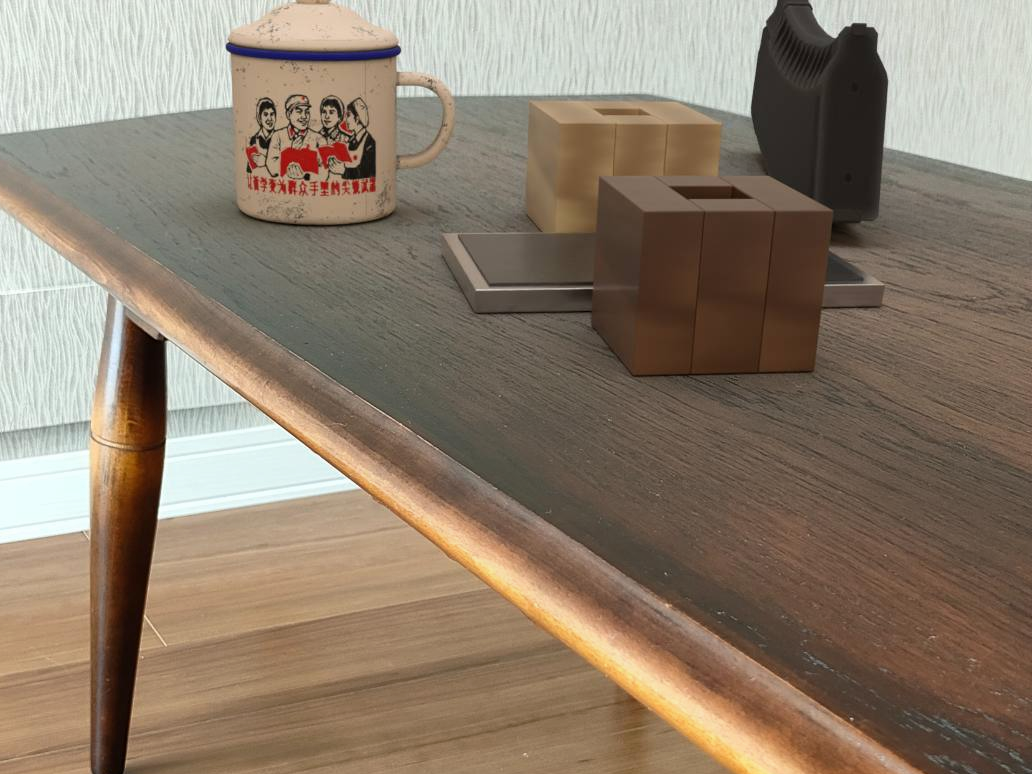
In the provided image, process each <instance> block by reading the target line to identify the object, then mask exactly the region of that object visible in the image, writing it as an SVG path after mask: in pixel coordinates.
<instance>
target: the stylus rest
mask: <svg viewBox="0 0 1032 774" xmlns="http://www.w3.org/2000/svg"><path fill="white" fill-rule="evenodd" d="M832 219H833V210H831V209H829V208H828V207H826V206H824V205H822V204H820V203H818V202H816V201H814V200H813V199H811V198H809V197H807V196H805V195H803V194H801V193H800V192H798V191H796V190H794V189H792V188H790V187H788V186H787V185H785V184H783V183H781V182H779V181H777V180H775V179H773V178H772V177H770V176H769V175H718V176H600V177H599V189H598V207H597V225H596V242H595V260H594V278H593V296H592V311H591V317H590V318H591V319H590V325H591V326H592V327H593V328H594V329H595V331H596V332H597V334H599V336H600V337H601V338H602V340H604V342H605V343H606V344H607V345H608V347H609V348H610V349H611V351H613V353H614V354H615V356H616V357H617V358H618V359H619V360H620V361H621V363H622V364H623V365H624V366H625V367H626V369H627V370H628V371H629V373H631V375H632V376H671V375H672V376H673V375H690V374H691V375H707V374H709V375H710V374H711V375H712V374H716V375H717V374H753V373H754V374H755V373H791V372H792V373H793V372H794V373H795V372H797V373H798V372H814V371H815V367H816V366H815V365H816V359H817V358H816V357H817V350H818V343H819V342H818V341H819V333H820V325H821V316H822V310H823V307H822V301H823V293H824V285H825V277H826V269H827V260H828V252H829V251H830V242H831V236H832V235H831V234H832V228H833V223H832Z"/></svg>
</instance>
